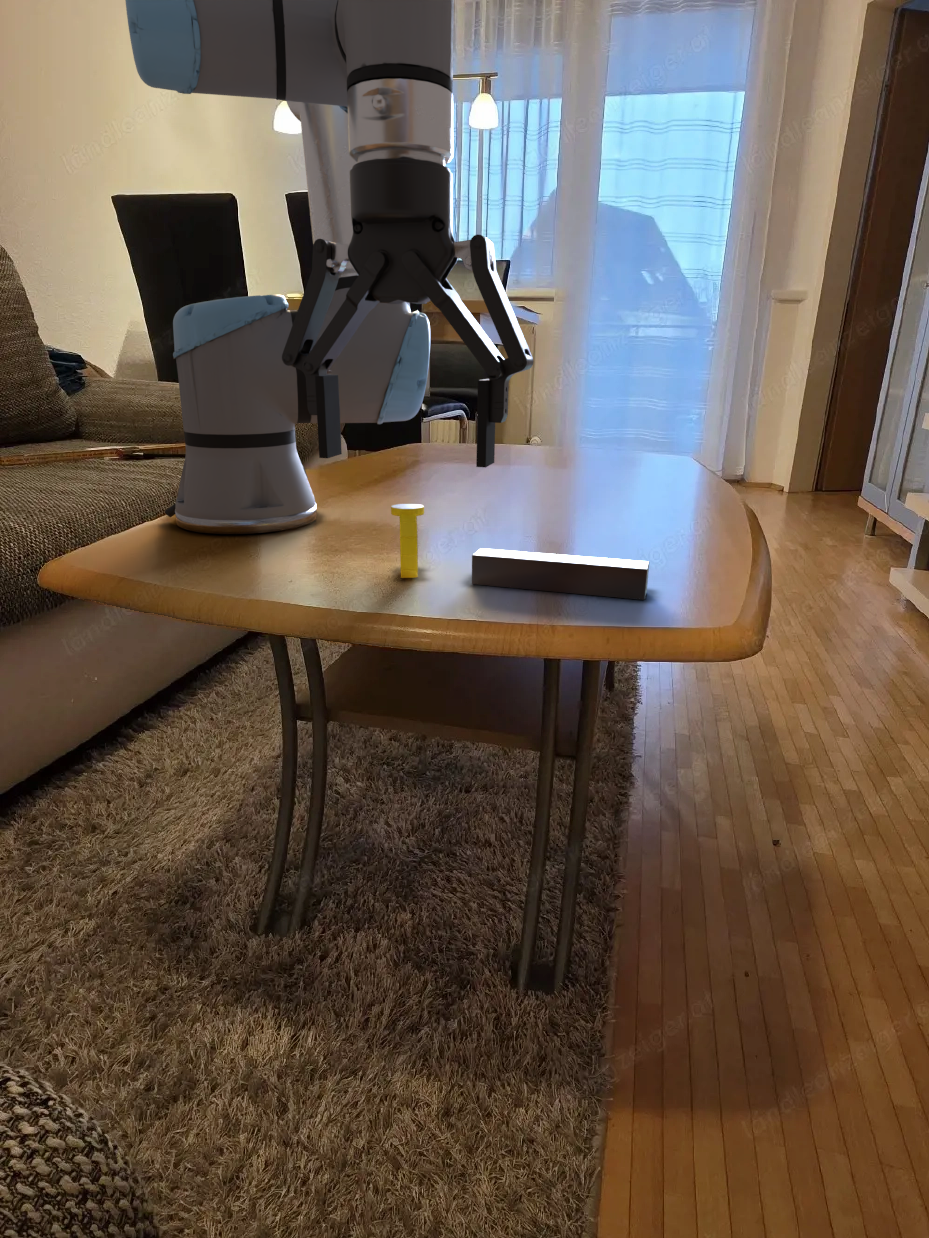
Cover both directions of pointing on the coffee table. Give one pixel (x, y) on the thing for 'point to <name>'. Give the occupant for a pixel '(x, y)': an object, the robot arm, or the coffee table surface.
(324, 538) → the coffee table surface
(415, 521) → the yellow capped peg
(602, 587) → the walnut stick
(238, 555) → the coffee table surface
